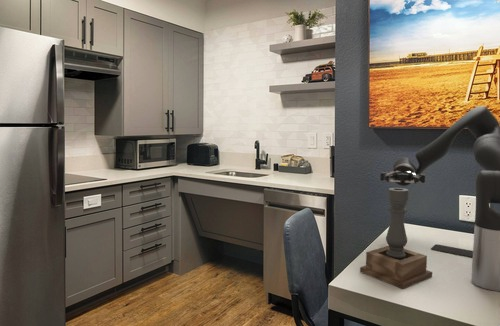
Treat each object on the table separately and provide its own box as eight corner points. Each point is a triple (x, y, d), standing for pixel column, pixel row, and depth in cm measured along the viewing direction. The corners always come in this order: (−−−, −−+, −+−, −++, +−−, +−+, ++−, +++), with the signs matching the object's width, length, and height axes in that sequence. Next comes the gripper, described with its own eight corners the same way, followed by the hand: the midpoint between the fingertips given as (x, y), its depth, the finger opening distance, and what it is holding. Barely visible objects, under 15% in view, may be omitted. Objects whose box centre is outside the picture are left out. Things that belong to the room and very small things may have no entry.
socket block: (431, 276, 114) (433, 256, 113) (402, 289, 105) (403, 266, 105) (389, 261, 126) (389, 243, 125) (360, 271, 118) (360, 251, 117)
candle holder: (402, 265, 118) (405, 187, 116) (408, 273, 112) (412, 191, 110) (382, 264, 119) (385, 187, 117) (387, 272, 113) (390, 191, 110)
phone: (435, 243, 144) (480, 252, 134) (435, 246, 144) (480, 254, 134) (430, 248, 138) (476, 257, 128) (430, 250, 138) (476, 260, 128)
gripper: (384, 163, 140) (379, 167, 125) (425, 165, 134) (425, 169, 119) (383, 183, 141) (378, 189, 126) (424, 185, 135) (424, 192, 120)
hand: (401, 179), depth 123 cm, fingers open, 8 cm apart
